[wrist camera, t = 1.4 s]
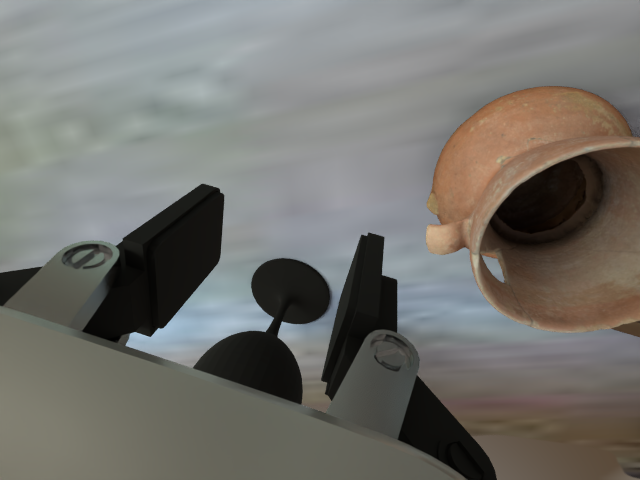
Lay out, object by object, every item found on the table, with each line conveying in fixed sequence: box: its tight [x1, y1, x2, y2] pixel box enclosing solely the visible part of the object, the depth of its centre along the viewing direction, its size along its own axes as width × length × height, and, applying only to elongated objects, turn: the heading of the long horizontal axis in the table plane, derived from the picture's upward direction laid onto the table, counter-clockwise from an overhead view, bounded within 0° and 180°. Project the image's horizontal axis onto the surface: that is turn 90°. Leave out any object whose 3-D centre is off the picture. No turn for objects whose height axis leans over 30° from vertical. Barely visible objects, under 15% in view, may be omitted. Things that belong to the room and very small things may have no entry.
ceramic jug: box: [426, 86, 640, 333], centre depth 24 cm, size 18×14×14 cm
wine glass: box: [193, 258, 330, 405], centre depth 34 cm, size 10×10×20 cm
